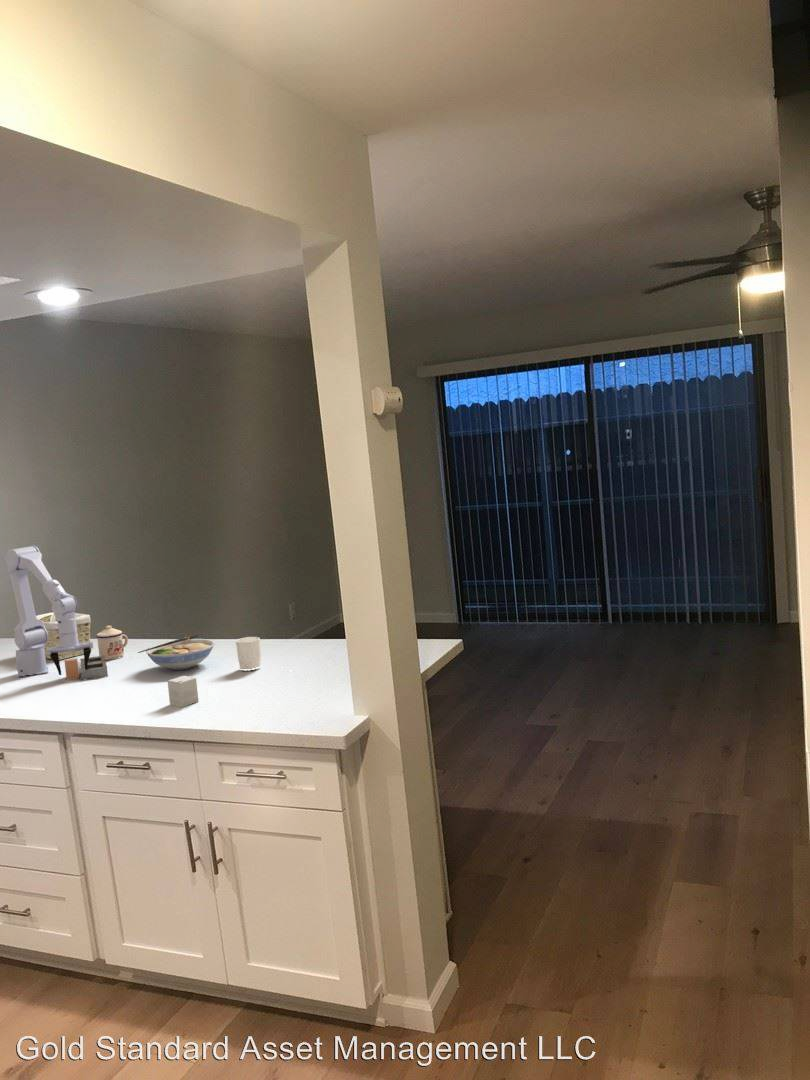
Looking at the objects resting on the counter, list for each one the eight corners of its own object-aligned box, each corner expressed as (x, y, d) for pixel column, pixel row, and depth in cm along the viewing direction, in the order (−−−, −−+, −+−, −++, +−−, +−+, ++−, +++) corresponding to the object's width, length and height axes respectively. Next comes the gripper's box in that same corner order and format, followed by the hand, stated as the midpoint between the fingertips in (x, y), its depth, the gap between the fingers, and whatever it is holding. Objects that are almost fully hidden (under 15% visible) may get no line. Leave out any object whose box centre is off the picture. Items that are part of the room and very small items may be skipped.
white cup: (265, 665, 303) (262, 636, 301) (259, 671, 295) (256, 641, 294) (242, 666, 303) (239, 637, 302) (235, 672, 296) (232, 642, 294)
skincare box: (186, 699, 269) (183, 675, 268) (199, 702, 265) (196, 677, 264) (169, 704, 264) (166, 680, 263) (182, 707, 260) (179, 682, 259)
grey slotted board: (107, 676, 303) (106, 667, 303) (82, 680, 301) (81, 671, 300) (105, 663, 322) (104, 655, 322) (81, 667, 319) (80, 658, 319)
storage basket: (23, 656, 345) (19, 618, 344) (63, 646, 358) (58, 609, 356) (56, 662, 330) (51, 623, 328) (96, 652, 342) (91, 614, 340)
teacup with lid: (109, 661, 325) (105, 629, 324) (93, 659, 331) (90, 627, 329) (136, 653, 335) (133, 622, 334) (121, 651, 340) (117, 621, 339)
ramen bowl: (174, 680, 291) (171, 655, 290) (130, 673, 305) (128, 649, 304) (232, 661, 311) (230, 638, 310) (189, 655, 325) (187, 633, 324)
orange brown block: (66, 679, 303) (64, 662, 302) (66, 677, 306) (64, 659, 306) (79, 678, 304) (77, 660, 303) (79, 675, 308) (77, 658, 307)
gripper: (44, 638, 297) (50, 678, 299) (91, 631, 302) (96, 671, 304) (45, 634, 304) (50, 673, 305) (90, 627, 309) (95, 666, 310)
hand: (73, 672), depth 305 cm, fingers open, 7 cm apart
